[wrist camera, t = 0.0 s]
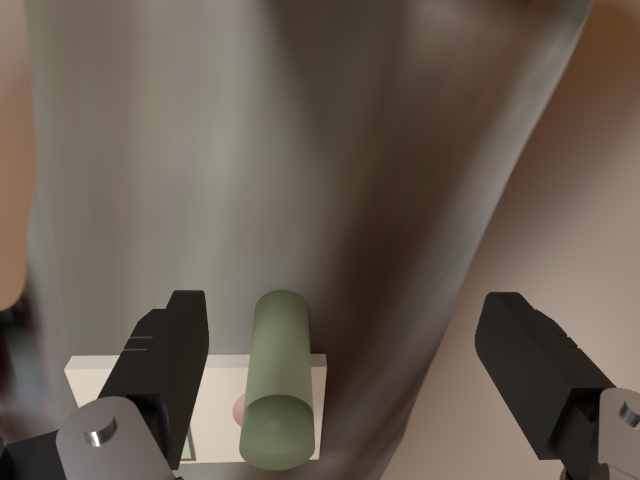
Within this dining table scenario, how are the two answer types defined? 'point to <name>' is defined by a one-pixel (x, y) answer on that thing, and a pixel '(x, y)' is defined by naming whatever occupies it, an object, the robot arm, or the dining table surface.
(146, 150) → the dining table surface
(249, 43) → the dining table surface
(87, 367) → the picture board
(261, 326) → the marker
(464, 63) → the dining table surface
